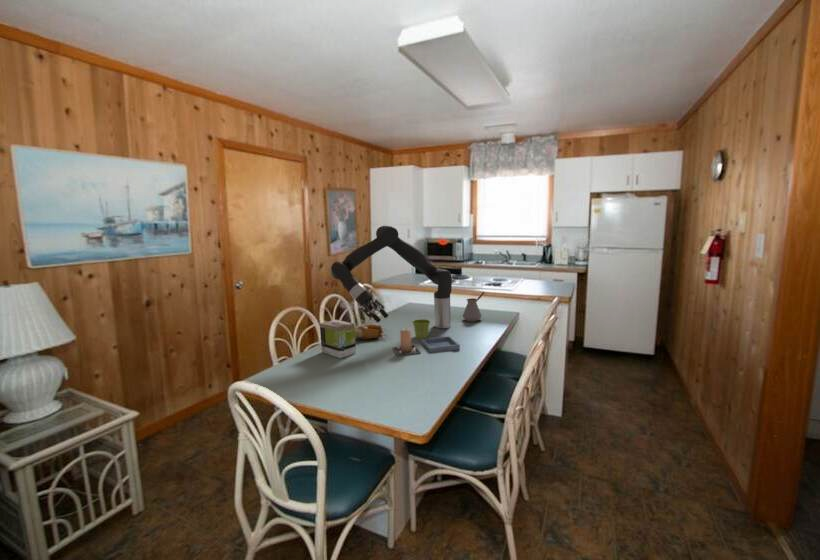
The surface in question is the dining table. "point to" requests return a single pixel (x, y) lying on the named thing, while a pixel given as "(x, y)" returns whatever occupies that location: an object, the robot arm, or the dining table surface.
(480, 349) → the dining table surface
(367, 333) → the nautilus
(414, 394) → the dining table surface
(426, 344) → the shallow square tray
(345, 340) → the tea box
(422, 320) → the plant pot
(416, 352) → the parts tray
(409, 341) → the tan rounded pillar
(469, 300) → the coffee pot
